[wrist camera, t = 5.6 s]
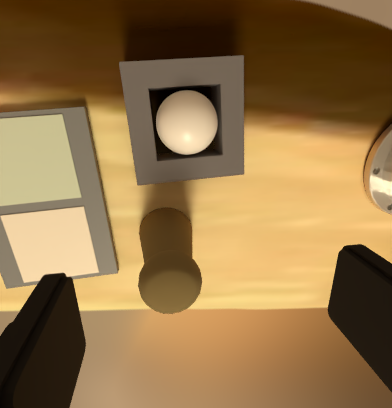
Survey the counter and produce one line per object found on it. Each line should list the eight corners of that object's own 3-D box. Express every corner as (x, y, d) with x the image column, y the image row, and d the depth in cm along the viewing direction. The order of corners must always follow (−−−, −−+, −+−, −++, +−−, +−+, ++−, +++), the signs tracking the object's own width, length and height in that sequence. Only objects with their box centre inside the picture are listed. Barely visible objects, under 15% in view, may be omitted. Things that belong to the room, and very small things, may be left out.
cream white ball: (209, 90, 26) (222, 86, 21) (212, 146, 28) (224, 156, 22) (152, 93, 25) (152, 90, 20) (159, 151, 27) (160, 162, 22)
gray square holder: (230, 62, 26) (243, 55, 22) (232, 165, 29) (244, 174, 25) (124, 68, 24) (118, 62, 21) (139, 174, 28) (137, 185, 24)
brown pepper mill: (128, 239, 30) (115, 307, 20) (158, 197, 29) (160, 247, 19) (172, 263, 32) (181, 336, 22) (202, 225, 31) (225, 283, 21)
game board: (86, 106, 25) (83, 106, 24) (118, 269, 31) (117, 273, 31) (-54, 116, 24) (-61, 116, 23) (10, 284, 30) (5, 289, 29)
